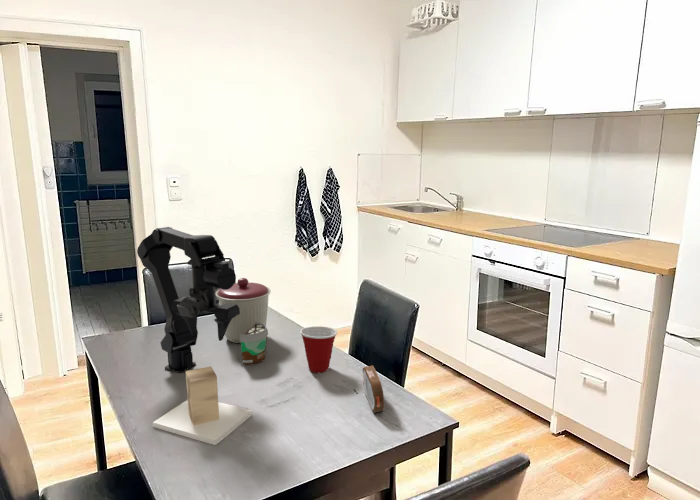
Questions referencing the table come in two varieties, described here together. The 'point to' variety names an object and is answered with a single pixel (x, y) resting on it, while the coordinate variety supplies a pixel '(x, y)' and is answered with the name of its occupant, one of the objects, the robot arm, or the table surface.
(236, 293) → the canister
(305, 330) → the plastic cup
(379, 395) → the tin
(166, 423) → the cutting board
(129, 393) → the table surface
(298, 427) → the table surface
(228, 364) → the table surface
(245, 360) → the food container
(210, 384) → the wooden block
